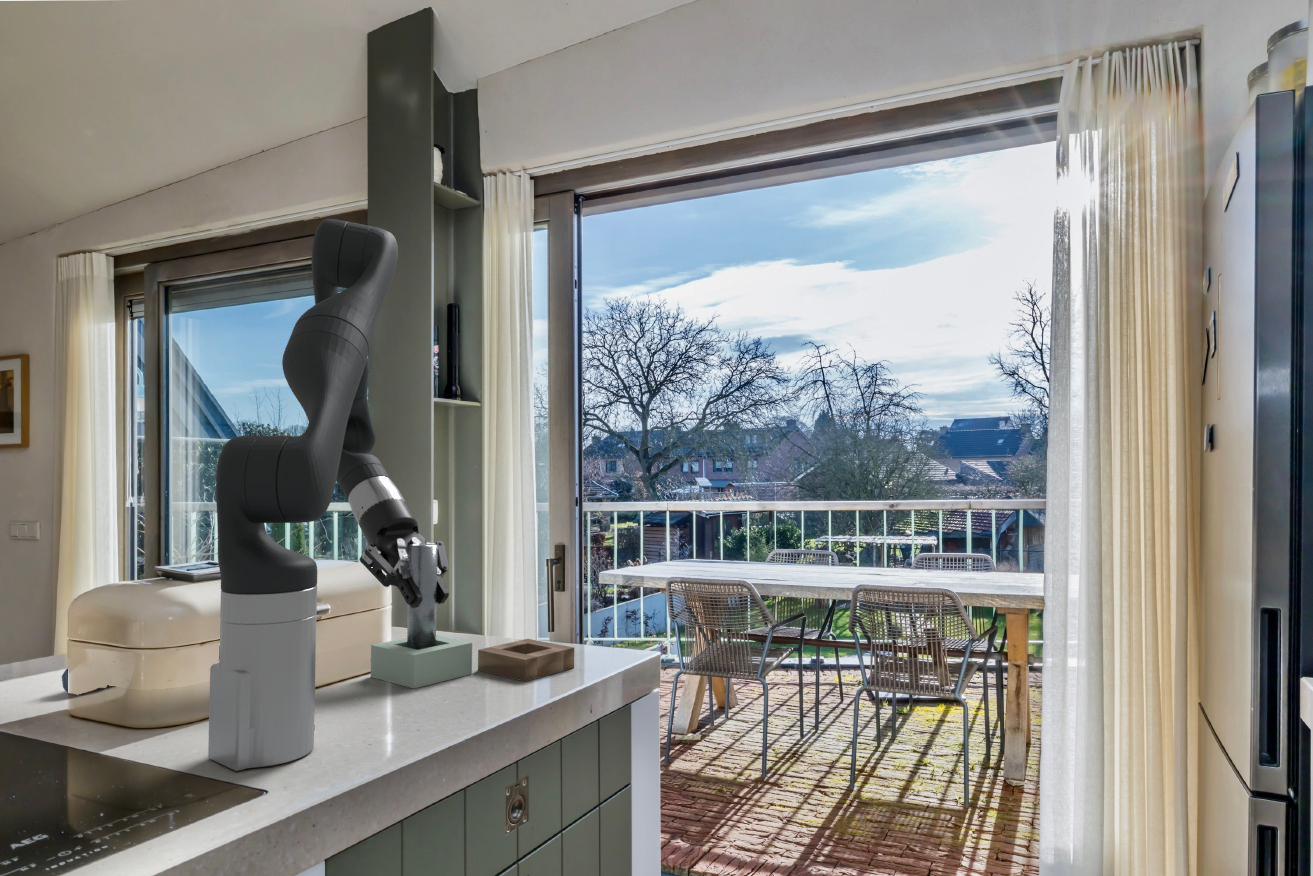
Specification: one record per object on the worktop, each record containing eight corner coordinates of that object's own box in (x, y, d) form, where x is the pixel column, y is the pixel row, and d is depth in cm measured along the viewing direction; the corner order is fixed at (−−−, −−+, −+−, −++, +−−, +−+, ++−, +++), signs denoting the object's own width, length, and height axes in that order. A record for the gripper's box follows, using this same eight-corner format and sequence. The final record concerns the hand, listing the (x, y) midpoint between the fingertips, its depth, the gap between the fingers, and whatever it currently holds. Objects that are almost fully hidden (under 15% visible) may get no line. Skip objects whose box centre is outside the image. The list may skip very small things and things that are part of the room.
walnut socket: (525, 681, 116) (525, 659, 116) (477, 670, 122) (478, 649, 122) (574, 667, 124) (574, 647, 124) (527, 657, 130) (527, 638, 130)
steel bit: (418, 661, 116) (420, 547, 117) (401, 656, 119) (403, 545, 119) (441, 656, 119) (443, 544, 120) (424, 652, 122) (426, 543, 122)
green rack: (413, 688, 112) (414, 655, 112) (370, 676, 118) (371, 644, 118) (471, 674, 120) (472, 642, 120) (428, 663, 126) (428, 633, 126)
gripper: (350, 497, 119) (400, 591, 111) (432, 495, 130) (482, 579, 122) (329, 532, 122) (376, 626, 114) (410, 527, 133) (458, 611, 125)
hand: (431, 601), depth 118 cm, fingers closed on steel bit, 4 cm apart
